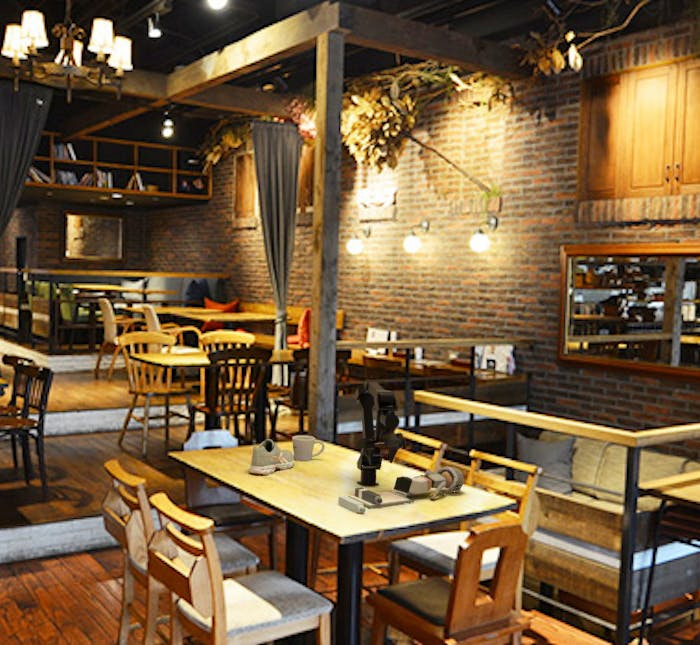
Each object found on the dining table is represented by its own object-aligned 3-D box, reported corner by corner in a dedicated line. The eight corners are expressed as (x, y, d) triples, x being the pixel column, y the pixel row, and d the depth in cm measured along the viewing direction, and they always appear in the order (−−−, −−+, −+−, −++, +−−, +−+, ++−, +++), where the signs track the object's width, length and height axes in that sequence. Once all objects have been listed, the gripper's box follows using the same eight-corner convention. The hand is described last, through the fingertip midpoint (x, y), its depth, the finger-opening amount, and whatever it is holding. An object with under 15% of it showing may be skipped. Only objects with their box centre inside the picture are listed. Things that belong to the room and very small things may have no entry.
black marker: (354, 496, 302) (355, 487, 302) (361, 495, 304) (362, 487, 304) (377, 505, 290) (377, 497, 290) (384, 504, 292) (384, 496, 292)
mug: (292, 456, 372) (293, 434, 371) (324, 458, 371) (325, 436, 371) (289, 461, 361) (290, 439, 361) (323, 463, 361) (324, 440, 360)
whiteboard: (369, 508, 290) (369, 503, 290) (346, 498, 303) (346, 493, 302) (413, 502, 301) (414, 498, 301) (389, 493, 314) (390, 488, 313)
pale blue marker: (338, 504, 294) (338, 496, 294) (345, 503, 296) (345, 495, 296) (359, 515, 282) (360, 506, 282) (367, 514, 284) (367, 505, 284)
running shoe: (300, 464, 356) (301, 433, 356) (269, 478, 329) (270, 445, 328) (277, 461, 361) (278, 431, 360) (245, 474, 333) (246, 441, 332)
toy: (412, 506, 299) (470, 499, 317) (417, 476, 298) (475, 472, 316) (388, 492, 310) (445, 487, 328) (393, 464, 309) (450, 461, 327)
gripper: (374, 429, 298) (372, 471, 299) (415, 426, 308) (413, 467, 309) (358, 423, 307) (356, 464, 308) (398, 421, 317) (396, 460, 318)
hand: (381, 464), depth 311 cm, fingers open, 9 cm apart
